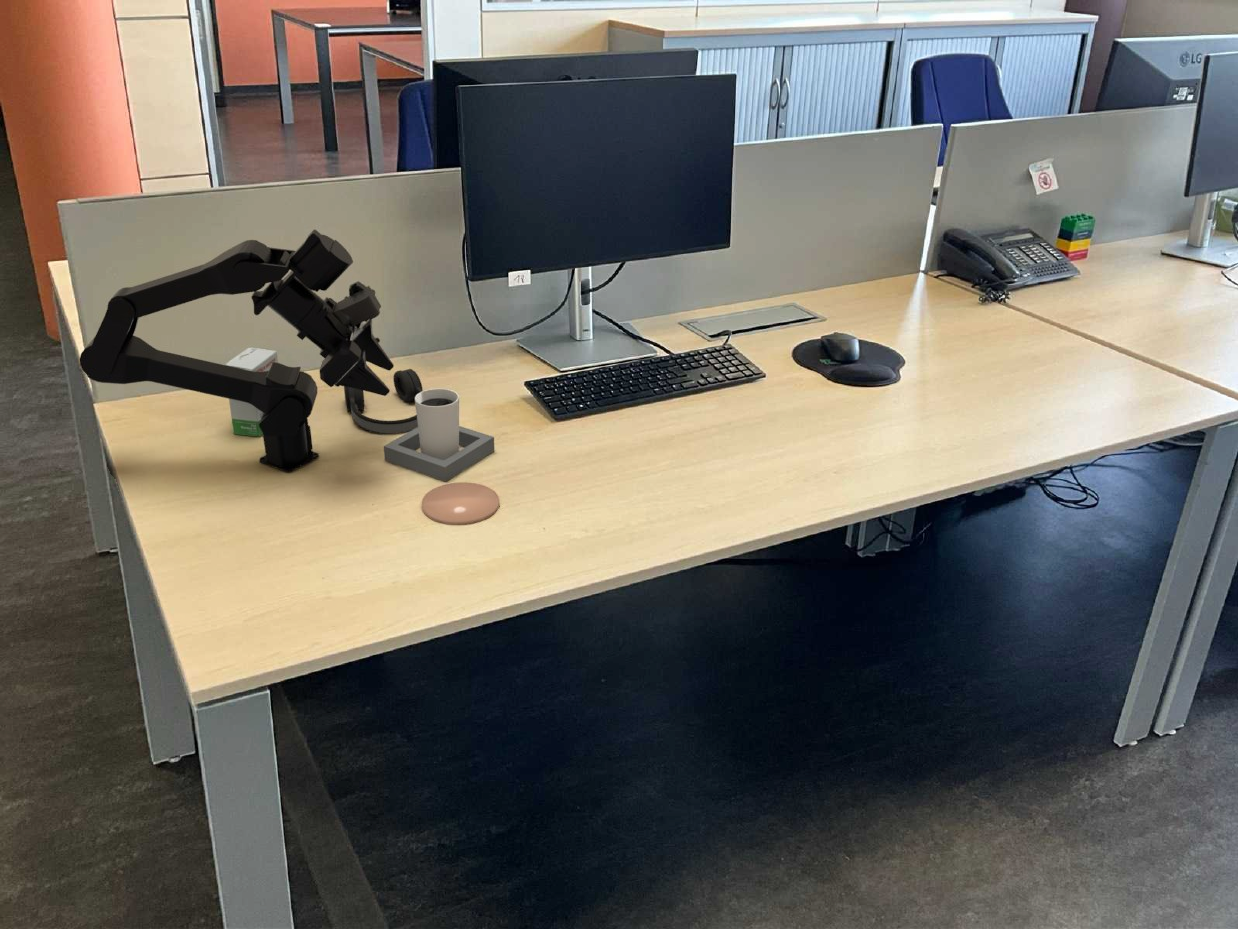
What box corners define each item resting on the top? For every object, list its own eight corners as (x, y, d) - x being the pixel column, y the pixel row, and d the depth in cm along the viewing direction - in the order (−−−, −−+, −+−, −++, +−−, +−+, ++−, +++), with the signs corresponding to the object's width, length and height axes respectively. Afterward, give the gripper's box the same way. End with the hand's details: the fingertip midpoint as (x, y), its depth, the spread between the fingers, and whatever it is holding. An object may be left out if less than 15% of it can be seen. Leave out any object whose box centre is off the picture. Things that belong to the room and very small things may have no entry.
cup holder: (445, 481, 162) (444, 467, 160) (384, 460, 167) (383, 446, 166) (494, 451, 171) (494, 436, 170) (435, 431, 176) (434, 417, 175)
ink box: (260, 438, 172) (251, 369, 167) (232, 434, 173) (221, 365, 168) (286, 415, 180) (277, 348, 174) (258, 411, 181) (249, 345, 175)
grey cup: (441, 442, 173) (438, 384, 168) (470, 455, 169) (468, 397, 165) (409, 456, 168) (405, 397, 164) (438, 470, 165) (435, 410, 160)
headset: (406, 332, 188) (440, 386, 174) (408, 378, 193) (441, 434, 179) (331, 343, 183) (360, 399, 169) (334, 390, 188) (363, 448, 174)
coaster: (467, 532, 149) (466, 529, 149) (405, 509, 154) (405, 506, 154) (514, 499, 158) (514, 495, 157) (454, 478, 163) (454, 475, 162)
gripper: (335, 295, 145) (424, 369, 152) (349, 252, 162) (428, 321, 168) (282, 350, 148) (371, 421, 155) (301, 303, 164) (380, 369, 171)
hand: (389, 380), depth 162 cm, fingers open, 9 cm apart
